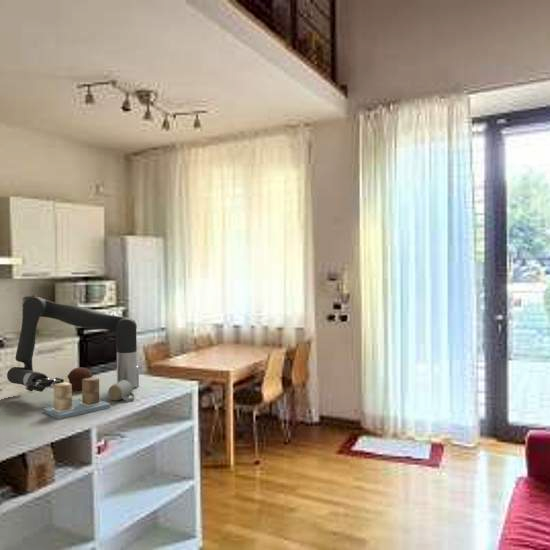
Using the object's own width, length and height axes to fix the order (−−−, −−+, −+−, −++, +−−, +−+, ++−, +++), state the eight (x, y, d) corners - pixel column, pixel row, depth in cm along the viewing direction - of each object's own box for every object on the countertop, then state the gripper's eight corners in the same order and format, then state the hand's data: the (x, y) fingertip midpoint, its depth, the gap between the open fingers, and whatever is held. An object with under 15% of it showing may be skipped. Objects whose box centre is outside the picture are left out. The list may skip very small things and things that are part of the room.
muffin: (97, 389, 252) (96, 368, 251) (73, 393, 244) (73, 371, 244) (86, 385, 261) (86, 364, 260) (63, 388, 253) (63, 367, 253)
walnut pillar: (93, 400, 227) (93, 377, 226) (99, 402, 223) (99, 379, 223) (82, 402, 223) (82, 379, 223) (88, 405, 220) (87, 381, 219)
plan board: (93, 401, 232) (93, 397, 232) (110, 407, 222) (110, 403, 222) (43, 411, 216) (42, 408, 216) (58, 419, 206) (58, 415, 206)
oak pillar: (66, 406, 218) (65, 381, 218) (72, 408, 215) (71, 384, 214) (54, 408, 214) (53, 384, 214) (59, 411, 211) (59, 386, 211)
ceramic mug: (106, 400, 232) (106, 383, 232) (118, 396, 240) (118, 379, 240) (127, 403, 229) (127, 385, 229) (138, 398, 237) (138, 381, 236)
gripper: (18, 374, 226) (34, 381, 215) (51, 369, 237) (69, 375, 226) (18, 392, 226) (35, 399, 215) (52, 386, 237) (69, 392, 226)
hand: (52, 387), depth 220 cm, fingers open, 8 cm apart
